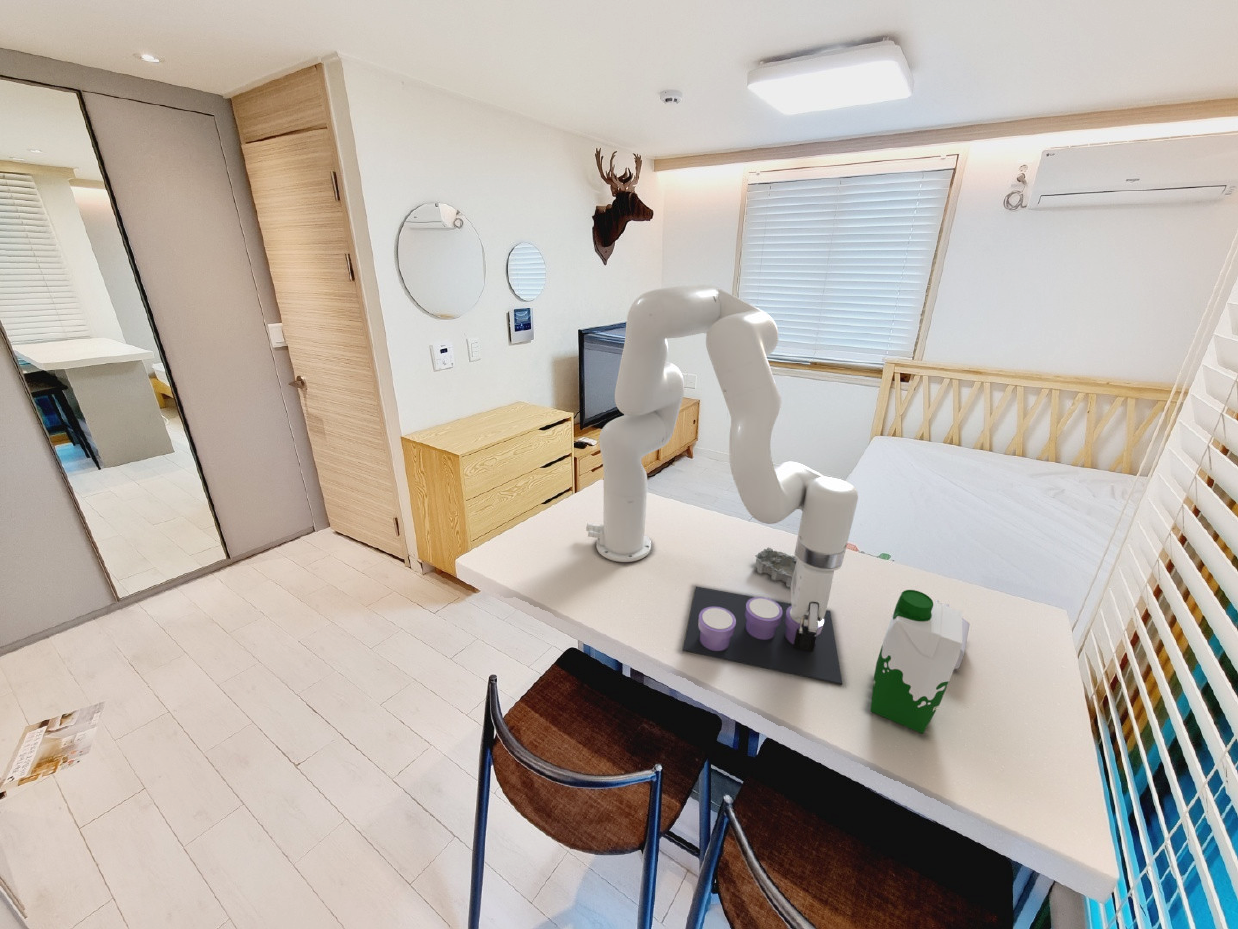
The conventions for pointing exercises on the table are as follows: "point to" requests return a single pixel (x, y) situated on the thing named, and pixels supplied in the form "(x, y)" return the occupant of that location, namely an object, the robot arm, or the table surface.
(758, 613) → the dish middle
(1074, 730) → the table surface
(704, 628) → the purple short cylinder
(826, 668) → the placemat
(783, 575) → the egg carton
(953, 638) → the milk carton
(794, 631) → the dish right
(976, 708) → the table surface
